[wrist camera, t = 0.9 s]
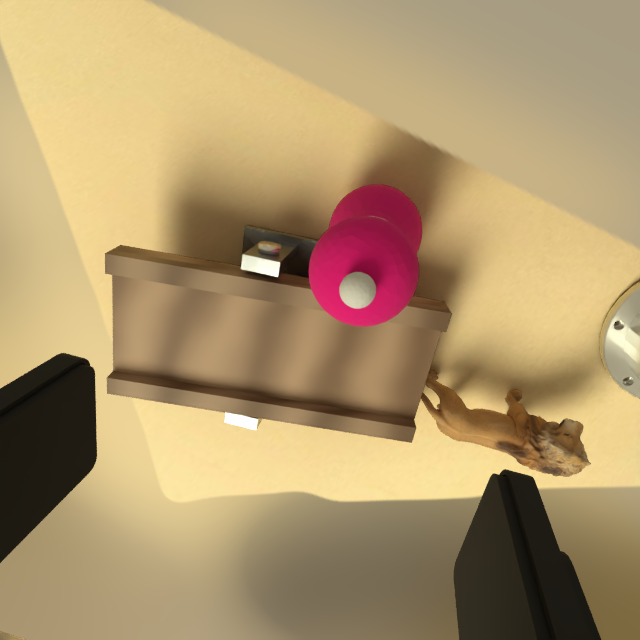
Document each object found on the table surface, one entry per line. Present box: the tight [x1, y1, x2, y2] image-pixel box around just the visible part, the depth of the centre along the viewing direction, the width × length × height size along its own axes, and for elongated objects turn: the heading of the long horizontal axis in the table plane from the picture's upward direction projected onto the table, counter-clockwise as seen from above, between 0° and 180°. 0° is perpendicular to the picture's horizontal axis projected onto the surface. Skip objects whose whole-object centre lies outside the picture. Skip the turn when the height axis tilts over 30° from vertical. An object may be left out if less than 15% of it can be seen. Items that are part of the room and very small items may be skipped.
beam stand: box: [225, 225, 318, 430], centre depth 41 cm, size 7×17×7 cm, turn 170°
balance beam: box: [105, 245, 452, 443], centre depth 39 cm, size 27×13×3 cm, turn 80°
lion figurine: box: [421, 370, 591, 477], centre depth 40 cm, size 15×5×9 cm, turn 88°
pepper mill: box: [309, 185, 422, 327], centre depth 30 cm, size 7×7×20 cm
